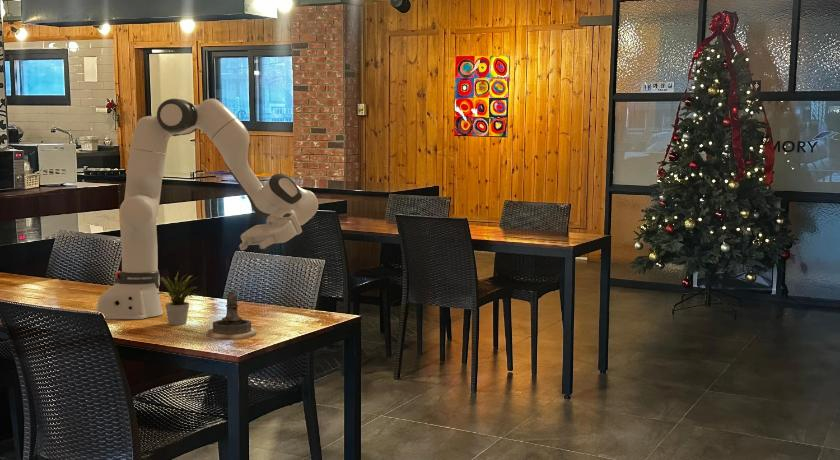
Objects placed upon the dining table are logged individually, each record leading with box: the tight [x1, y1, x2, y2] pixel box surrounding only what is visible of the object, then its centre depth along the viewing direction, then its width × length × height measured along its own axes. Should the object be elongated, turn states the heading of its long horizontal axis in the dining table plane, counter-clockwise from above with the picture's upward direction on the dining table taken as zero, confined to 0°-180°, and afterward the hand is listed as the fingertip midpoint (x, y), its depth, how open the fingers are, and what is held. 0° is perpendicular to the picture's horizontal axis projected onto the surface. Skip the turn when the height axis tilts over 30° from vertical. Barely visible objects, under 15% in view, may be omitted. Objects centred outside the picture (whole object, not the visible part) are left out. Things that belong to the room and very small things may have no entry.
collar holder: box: [206, 319, 258, 340], centre depth 270 cm, size 14×14×4 cm
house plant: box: [153, 271, 198, 326], centre depth 284 cm, size 14×14×16 cm
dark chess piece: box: [221, 289, 243, 325], centre depth 269 cm, size 6×6×12 cm
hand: (250, 247), depth 284 cm, fingers open, 8 cm apart
